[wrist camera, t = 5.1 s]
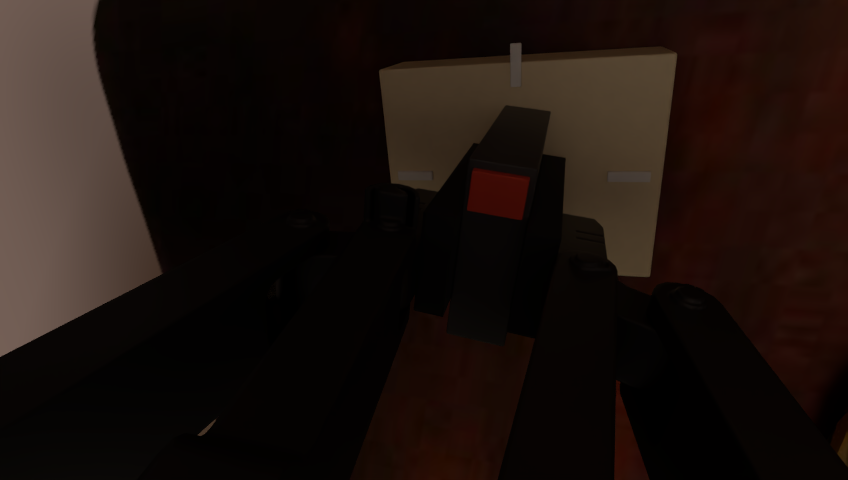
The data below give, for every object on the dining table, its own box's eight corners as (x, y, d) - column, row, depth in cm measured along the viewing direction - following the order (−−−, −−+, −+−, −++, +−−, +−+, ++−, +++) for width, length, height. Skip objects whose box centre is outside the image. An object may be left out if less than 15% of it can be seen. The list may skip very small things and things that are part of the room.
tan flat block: (419, 246, 24) (399, 277, 22) (401, 46, 21) (374, 52, 18) (639, 256, 22) (648, 293, 19) (664, 28, 18) (681, 32, 15)
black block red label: (525, 239, 19) (502, 353, 13) (485, 231, 20) (443, 339, 13) (551, 111, 17) (538, 172, 11) (505, 104, 17) (466, 160, 11)
